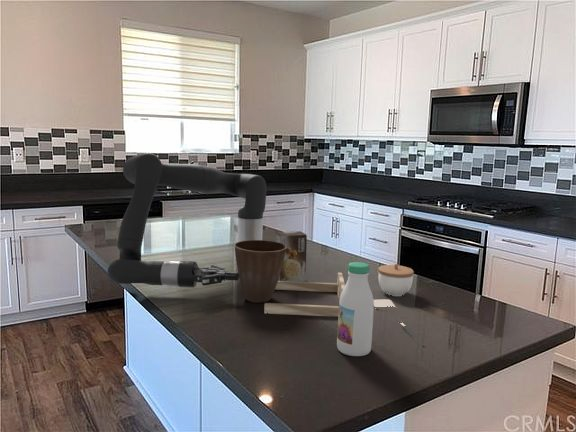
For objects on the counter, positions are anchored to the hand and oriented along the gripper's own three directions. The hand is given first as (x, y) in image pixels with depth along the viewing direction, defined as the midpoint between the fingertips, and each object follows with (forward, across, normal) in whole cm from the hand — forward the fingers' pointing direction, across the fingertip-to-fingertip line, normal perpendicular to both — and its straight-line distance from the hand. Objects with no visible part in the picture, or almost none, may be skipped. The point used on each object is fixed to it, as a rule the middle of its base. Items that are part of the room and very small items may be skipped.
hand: (238, 276), depth 134 cm
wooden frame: (+20, 0, +7) cm, 21 cm away
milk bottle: (+31, -30, +7) cm, 43 cm away
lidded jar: (+47, +12, +7) cm, 49 cm away
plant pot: (+6, +1, +7) cm, 9 cm away
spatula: (+44, -12, +8) cm, 47 cm away
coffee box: (+14, +20, +7) cm, 26 cm away
